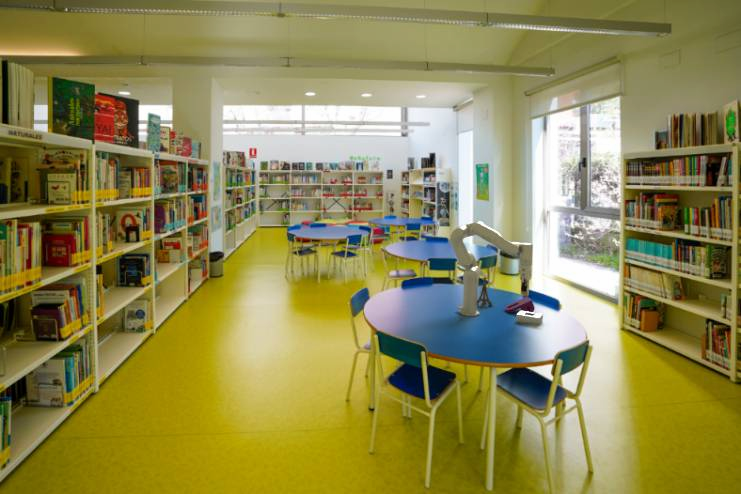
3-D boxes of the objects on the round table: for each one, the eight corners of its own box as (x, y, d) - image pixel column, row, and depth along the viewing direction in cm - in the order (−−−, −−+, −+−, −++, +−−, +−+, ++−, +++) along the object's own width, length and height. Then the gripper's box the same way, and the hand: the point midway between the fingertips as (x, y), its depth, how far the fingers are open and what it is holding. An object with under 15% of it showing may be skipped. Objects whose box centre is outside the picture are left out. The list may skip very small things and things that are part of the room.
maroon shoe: (511, 321, 305) (536, 311, 304) (507, 311, 304) (531, 300, 303) (507, 317, 314) (531, 307, 313) (503, 307, 313) (526, 296, 312)
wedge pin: (520, 295, 286) (521, 280, 285) (522, 294, 289) (522, 279, 288) (527, 296, 284) (527, 281, 282) (528, 295, 287) (529, 279, 286)
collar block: (516, 321, 286) (516, 314, 286) (520, 317, 295) (520, 310, 294) (538, 325, 279) (539, 318, 278) (542, 321, 287) (543, 314, 286)
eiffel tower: (473, 304, 325) (474, 270, 321) (484, 302, 330) (486, 269, 326) (482, 308, 316) (484, 273, 312) (494, 306, 320) (496, 272, 316)
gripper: (528, 265, 275) (527, 294, 277) (535, 260, 288) (534, 288, 291) (516, 264, 279) (515, 292, 281) (523, 260, 292) (522, 287, 295)
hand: (524, 290), depth 286 cm, fingers closed on wedge pin, 4 cm apart
